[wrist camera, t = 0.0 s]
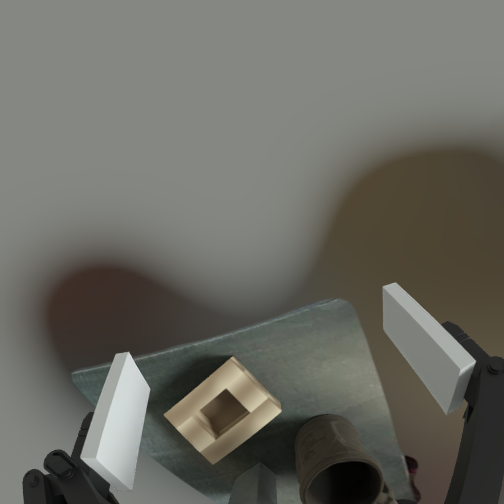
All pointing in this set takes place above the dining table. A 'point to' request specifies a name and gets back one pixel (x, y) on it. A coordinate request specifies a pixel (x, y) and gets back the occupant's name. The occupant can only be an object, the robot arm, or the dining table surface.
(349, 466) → the beer stein
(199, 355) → the dining table surface
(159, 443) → the dining table surface
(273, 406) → the well block
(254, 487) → the tall grey pillar
